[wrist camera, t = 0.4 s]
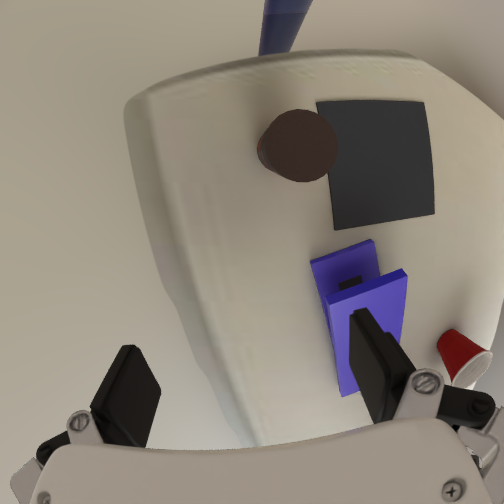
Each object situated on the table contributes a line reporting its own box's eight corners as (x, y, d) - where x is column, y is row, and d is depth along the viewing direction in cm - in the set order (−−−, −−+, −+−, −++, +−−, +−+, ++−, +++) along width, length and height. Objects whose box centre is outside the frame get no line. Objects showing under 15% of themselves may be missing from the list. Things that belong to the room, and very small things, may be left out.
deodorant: (299, 126, 33) (333, 107, 19) (304, 170, 35) (341, 178, 21) (254, 131, 33) (259, 112, 19) (260, 175, 35) (269, 186, 21)
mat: (316, 102, 32) (316, 102, 32) (422, 102, 31) (424, 102, 31) (334, 229, 38) (335, 230, 38) (433, 213, 37) (434, 214, 37)
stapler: (374, 237, 38) (406, 261, 29) (389, 364, 47) (408, 397, 38) (303, 263, 40) (319, 295, 30) (337, 384, 48) (349, 421, 39)
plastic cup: (418, 358, 48) (443, 394, 36) (445, 316, 44) (477, 349, 33) (445, 361, 49) (469, 393, 38) (470, 323, 46) (499, 352, 34)
